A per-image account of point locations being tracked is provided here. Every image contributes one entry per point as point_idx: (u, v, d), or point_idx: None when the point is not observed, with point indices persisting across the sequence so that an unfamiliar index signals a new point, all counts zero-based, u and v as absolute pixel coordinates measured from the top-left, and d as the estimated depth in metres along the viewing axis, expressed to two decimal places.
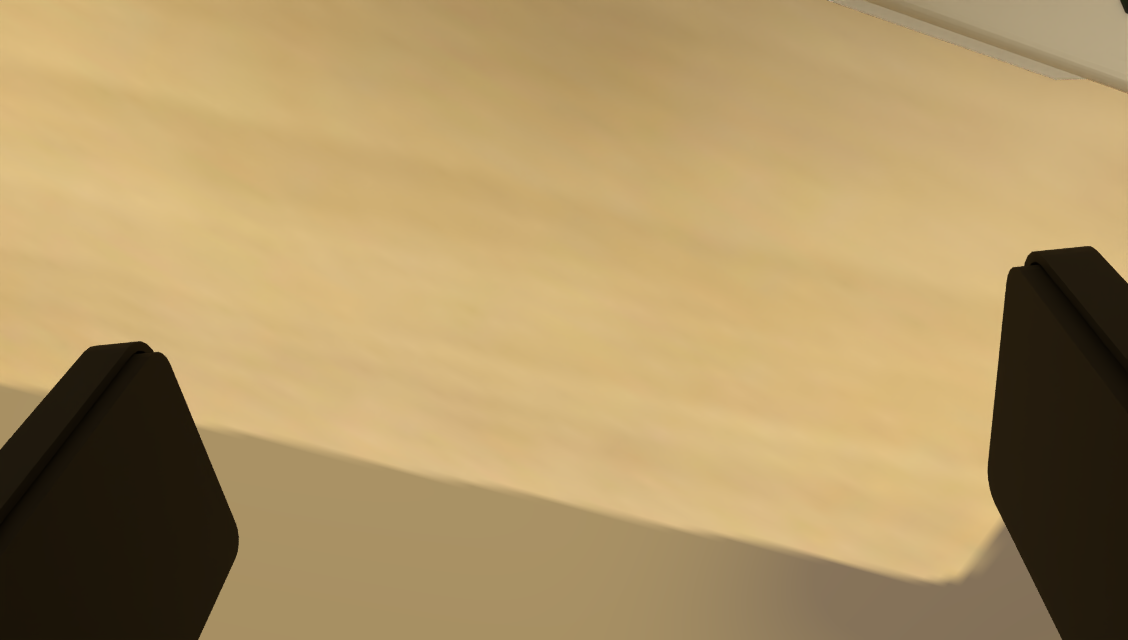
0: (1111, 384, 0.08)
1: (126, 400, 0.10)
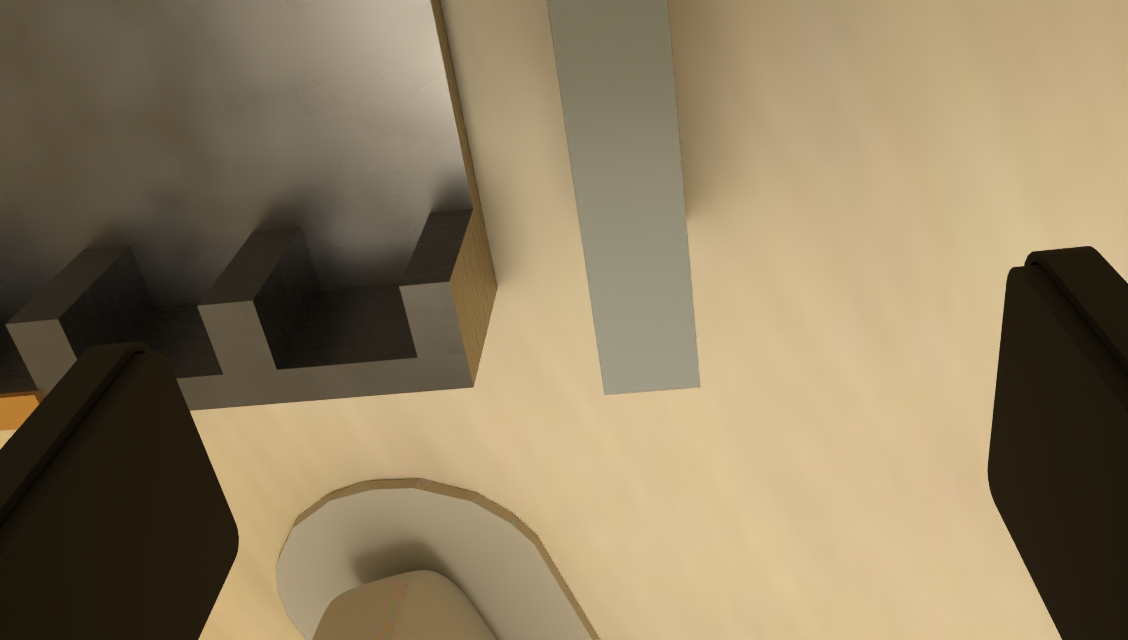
0: (1111, 384, 0.08)
1: (126, 400, 0.10)
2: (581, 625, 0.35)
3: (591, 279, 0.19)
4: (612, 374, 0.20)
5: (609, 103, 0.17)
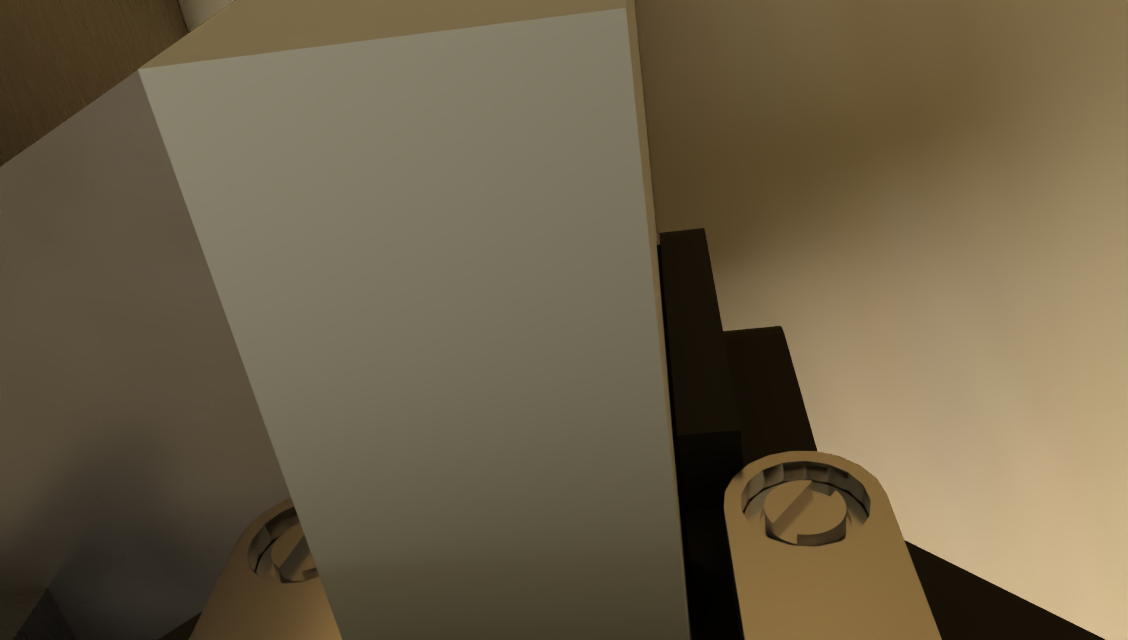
0: None
1: None
2: None
3: None
4: None
5: None
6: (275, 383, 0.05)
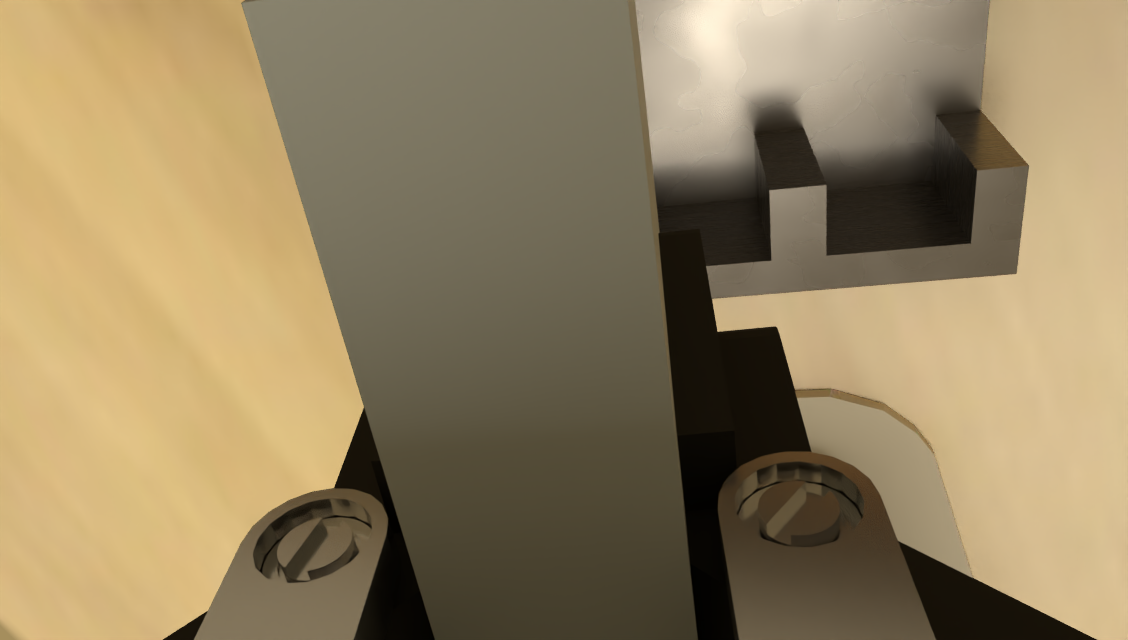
0: None
1: None
2: (958, 538, 0.36)
3: None
4: None
5: (538, 626, 0.07)
6: (339, 265, 0.06)
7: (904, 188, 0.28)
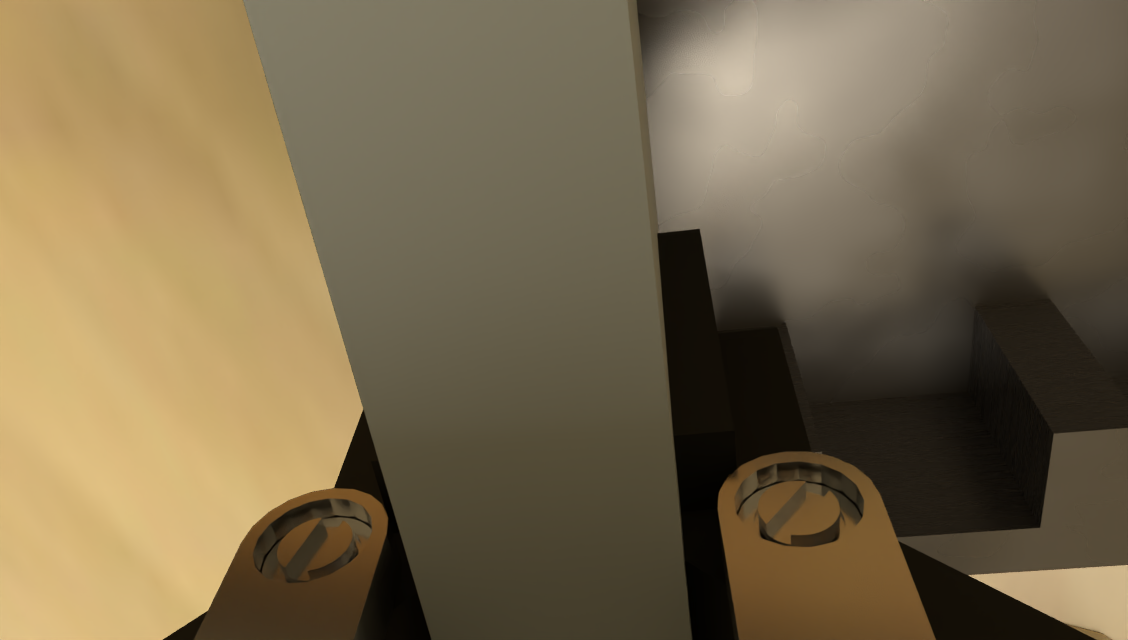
0: None
1: None
2: None
3: None
4: None
5: (533, 622, 0.07)
6: (340, 262, 0.06)
7: None
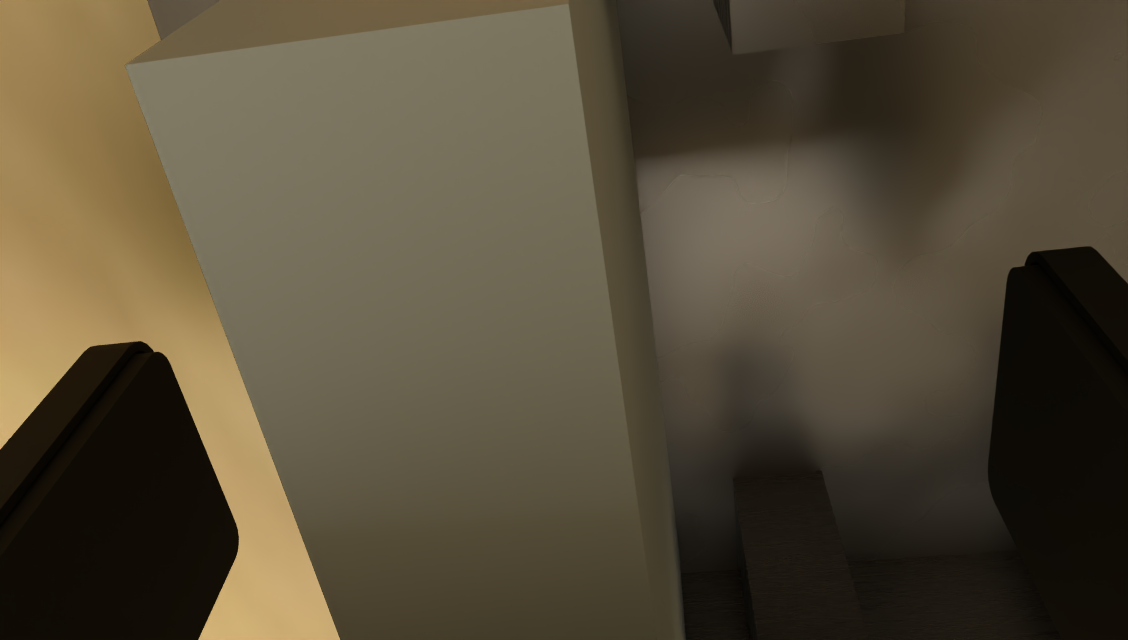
0: (1111, 384, 0.08)
1: (125, 400, 0.10)
2: None
3: None
4: None
5: None
6: (257, 356, 0.05)
7: None
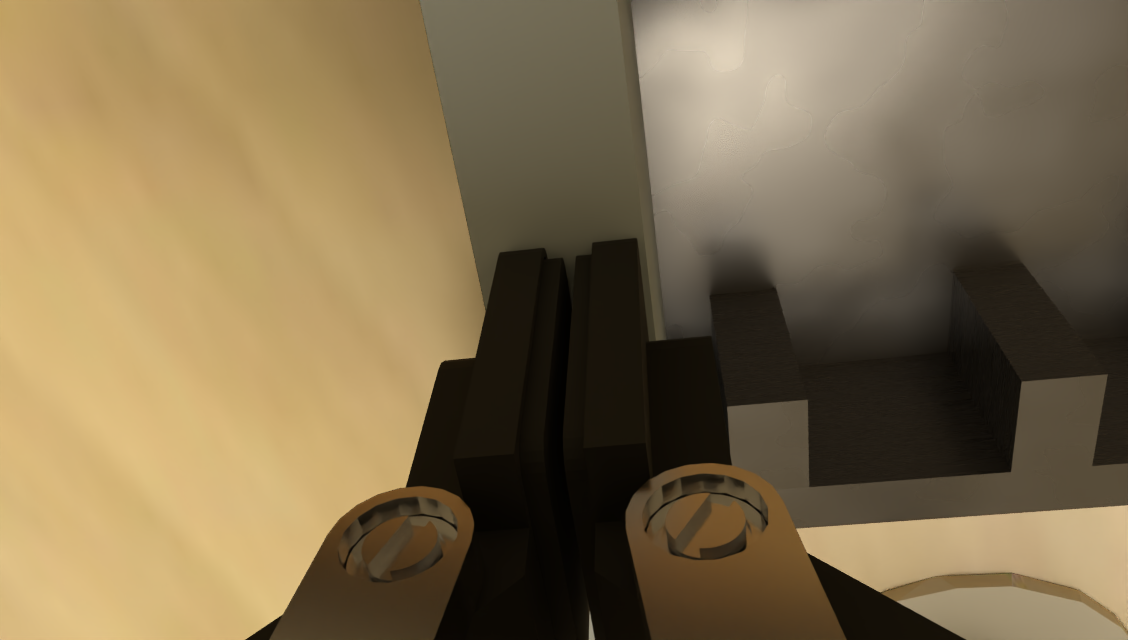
0: (576, 351, 0.09)
1: (560, 297, 0.10)
2: None
3: None
4: None
5: None
6: (440, 45, 0.10)
7: None
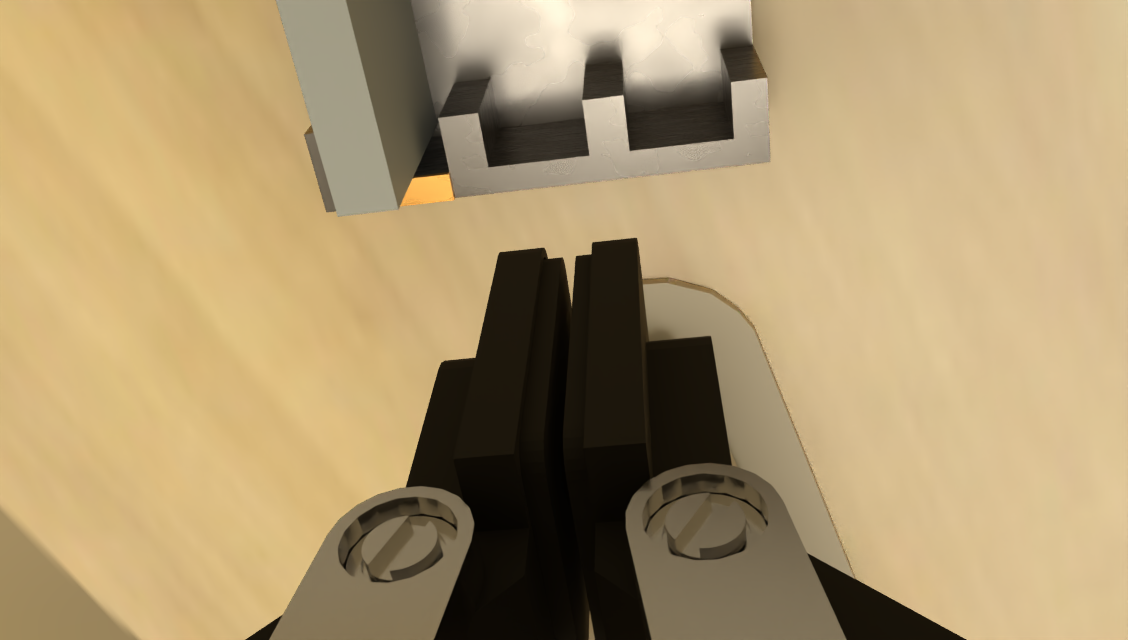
0: (576, 351, 0.09)
1: (559, 297, 0.10)
2: (781, 402, 0.45)
3: (316, 134, 0.30)
4: (340, 201, 0.31)
5: (309, 16, 0.28)
6: None
7: (701, 106, 0.37)
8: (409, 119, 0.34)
